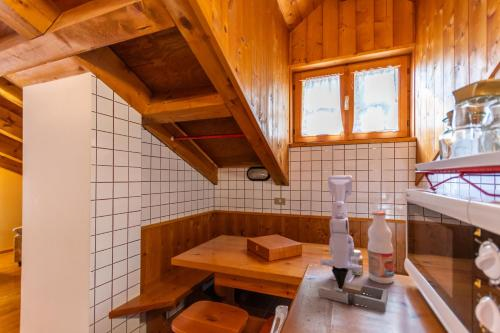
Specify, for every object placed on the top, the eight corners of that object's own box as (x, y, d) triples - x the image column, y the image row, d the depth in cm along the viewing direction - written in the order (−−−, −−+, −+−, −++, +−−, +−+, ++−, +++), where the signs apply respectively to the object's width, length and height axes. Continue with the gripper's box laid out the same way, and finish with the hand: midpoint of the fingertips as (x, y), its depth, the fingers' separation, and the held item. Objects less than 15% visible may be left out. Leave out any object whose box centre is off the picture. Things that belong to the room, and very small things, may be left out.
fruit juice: (370, 273, 111) (368, 210, 112) (395, 277, 106) (392, 211, 107) (367, 280, 103) (364, 212, 104) (393, 286, 98) (390, 214, 99)
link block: (345, 292, 93) (345, 281, 94) (363, 296, 90) (362, 285, 90) (342, 298, 89) (342, 286, 89) (360, 302, 86) (360, 290, 86)
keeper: (353, 304, 85) (353, 292, 85) (352, 306, 83) (352, 294, 84) (319, 295, 91) (318, 284, 91) (317, 297, 90) (317, 286, 90)
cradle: (359, 292, 94) (359, 283, 94) (387, 298, 89) (387, 289, 89) (354, 304, 85) (354, 295, 85) (384, 312, 80) (384, 302, 80)
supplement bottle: (362, 271, 114) (361, 249, 114) (364, 275, 108) (363, 253, 109) (349, 270, 115) (348, 248, 115) (350, 274, 110) (350, 252, 110)
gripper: (317, 250, 93) (318, 287, 93) (358, 257, 85) (360, 297, 85) (323, 246, 99) (323, 280, 99) (362, 251, 91) (363, 289, 91)
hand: (341, 288), depth 92 cm, fingers closed
